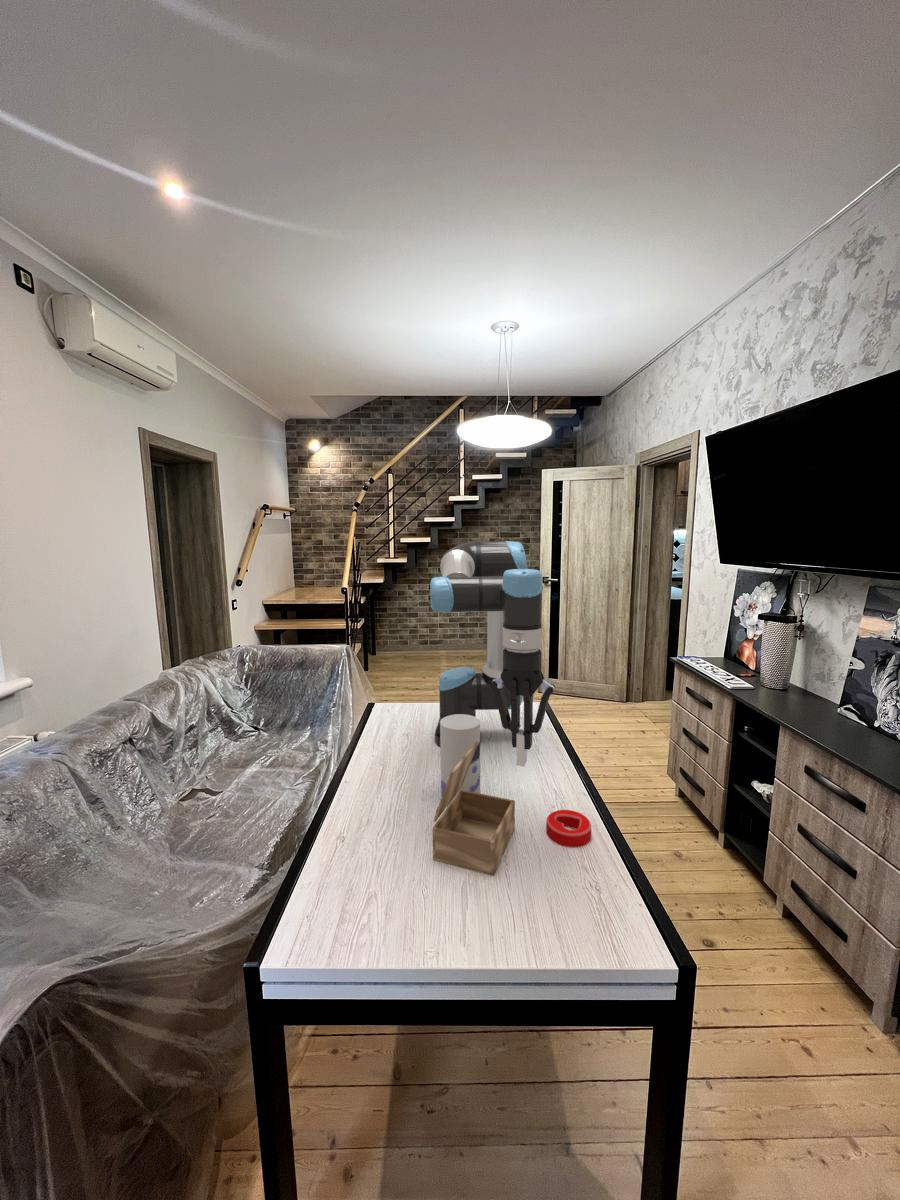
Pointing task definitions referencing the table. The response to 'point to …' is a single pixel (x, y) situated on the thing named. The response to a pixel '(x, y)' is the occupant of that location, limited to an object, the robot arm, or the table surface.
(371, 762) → the table surface
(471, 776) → the container
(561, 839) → the decorative ornament
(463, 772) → the lid
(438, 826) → the wooden box
